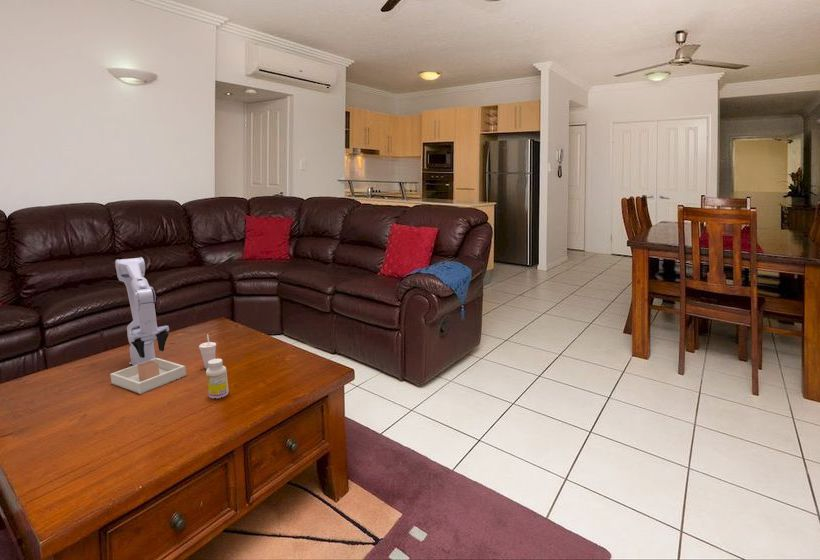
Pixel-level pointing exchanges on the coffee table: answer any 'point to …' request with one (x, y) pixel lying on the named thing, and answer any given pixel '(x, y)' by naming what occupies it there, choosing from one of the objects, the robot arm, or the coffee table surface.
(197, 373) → the coffee table surface
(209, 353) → the smoothie
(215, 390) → the supplement bottle
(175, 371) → the tray
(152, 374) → the brown cube block
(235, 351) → the coffee table surface
